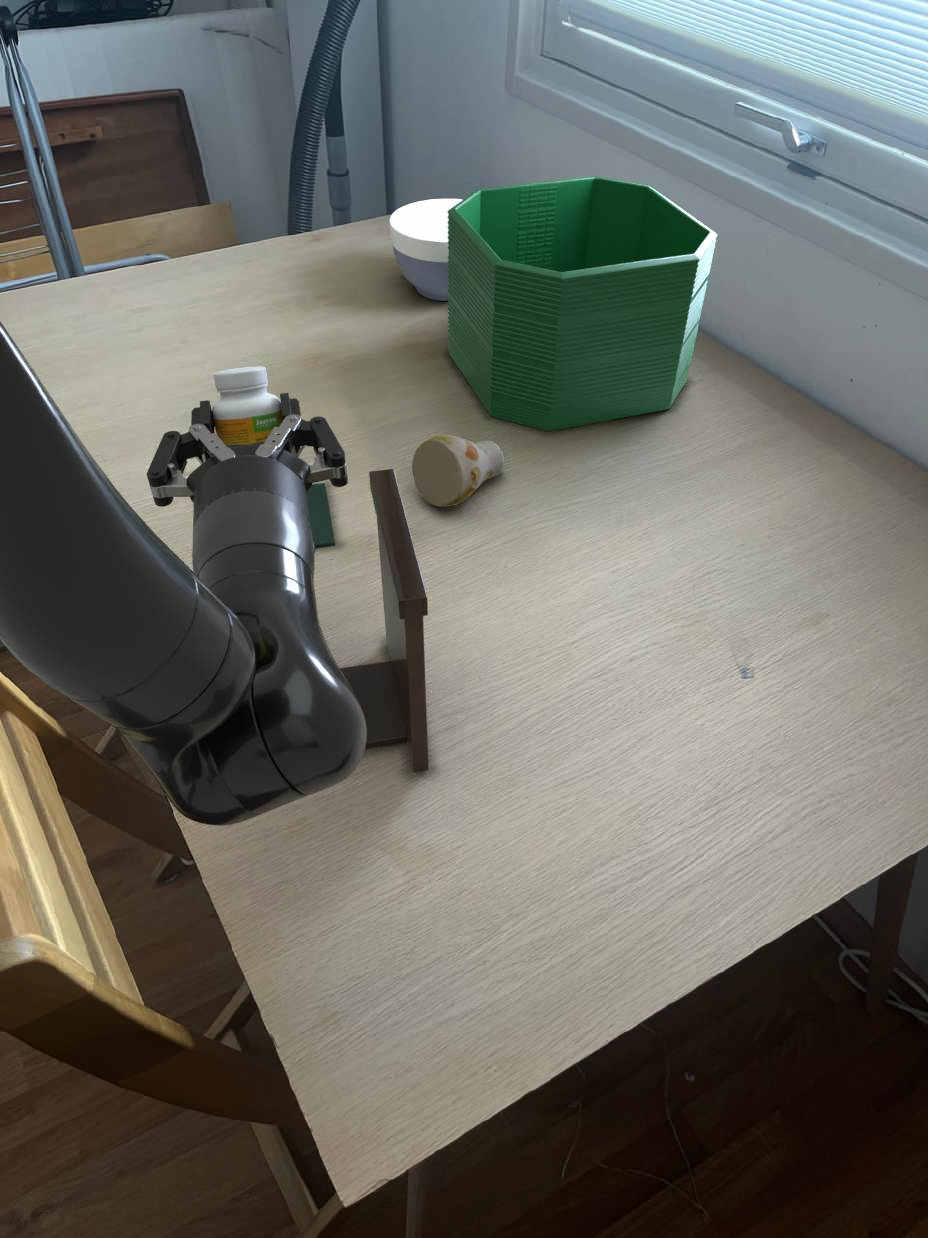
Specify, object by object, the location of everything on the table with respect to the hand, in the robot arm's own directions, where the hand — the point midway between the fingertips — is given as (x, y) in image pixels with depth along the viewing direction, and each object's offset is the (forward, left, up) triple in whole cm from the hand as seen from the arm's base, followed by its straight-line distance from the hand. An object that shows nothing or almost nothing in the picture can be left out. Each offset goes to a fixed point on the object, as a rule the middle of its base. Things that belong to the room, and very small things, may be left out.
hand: (246, 407), depth 68 cm
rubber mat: (+1, +10, -19) cm, 21 cm away
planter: (+38, +34, -19) cm, 54 cm away
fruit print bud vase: (+20, +12, -19) cm, 30 cm away
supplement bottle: (0, -3, -7) cm, 7 cm away
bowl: (+28, +60, -19) cm, 68 cm away
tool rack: (+3, -16, -19) cm, 25 cm away
